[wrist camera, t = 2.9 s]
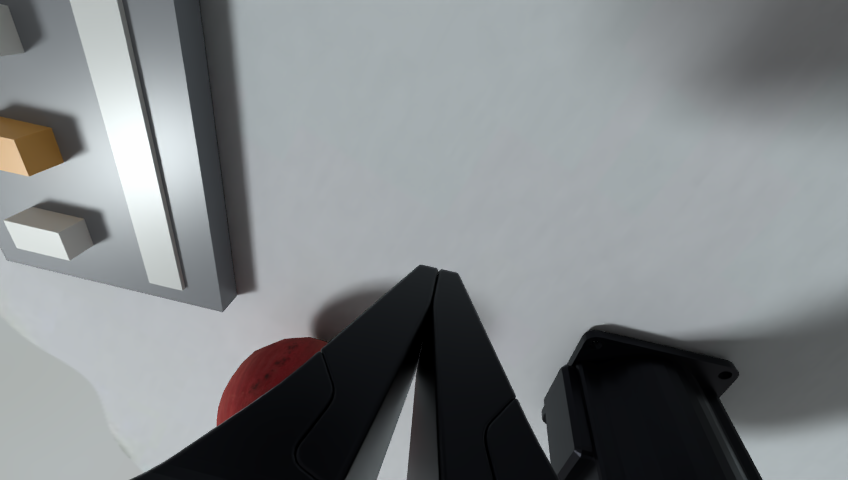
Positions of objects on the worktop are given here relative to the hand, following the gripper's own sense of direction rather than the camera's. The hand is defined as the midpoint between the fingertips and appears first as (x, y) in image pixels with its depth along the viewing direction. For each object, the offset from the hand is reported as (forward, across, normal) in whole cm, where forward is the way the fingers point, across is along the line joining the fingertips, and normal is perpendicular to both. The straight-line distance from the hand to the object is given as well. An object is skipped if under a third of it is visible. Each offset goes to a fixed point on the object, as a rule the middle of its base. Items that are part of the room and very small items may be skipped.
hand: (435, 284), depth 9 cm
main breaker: (+6, +16, +2) cm, 18 cm away
